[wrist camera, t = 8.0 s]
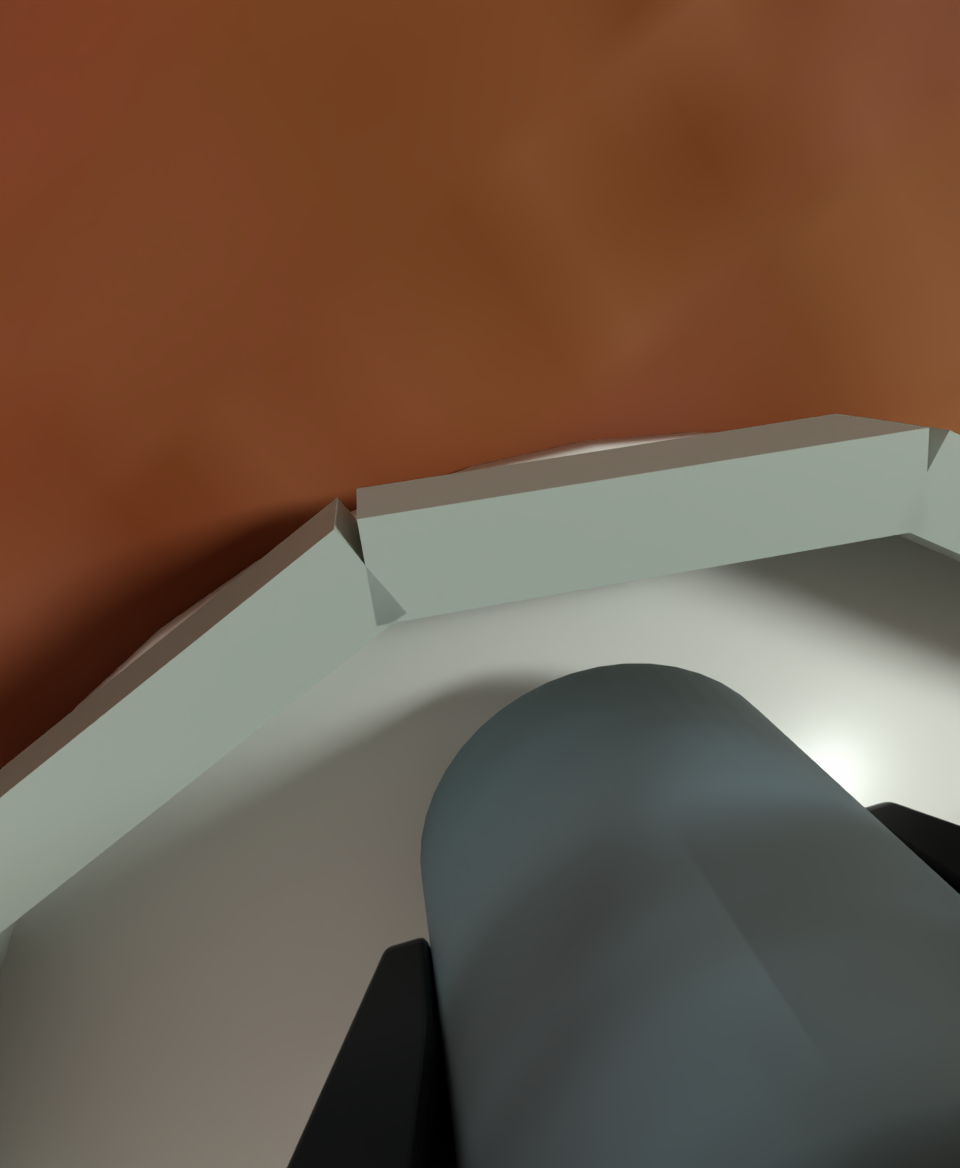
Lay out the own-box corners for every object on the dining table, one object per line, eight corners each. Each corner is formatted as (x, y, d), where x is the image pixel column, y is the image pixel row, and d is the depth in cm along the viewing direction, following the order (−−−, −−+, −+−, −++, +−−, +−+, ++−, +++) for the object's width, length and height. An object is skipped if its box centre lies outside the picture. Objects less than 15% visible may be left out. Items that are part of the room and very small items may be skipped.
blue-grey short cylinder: (862, 730, 9) (1421, 1162, 4) (694, 1030, 10) (1001, 1653, 5) (514, 607, 8) (749, 1004, 3) (362, 957, 9) (369, 1659, 4)
